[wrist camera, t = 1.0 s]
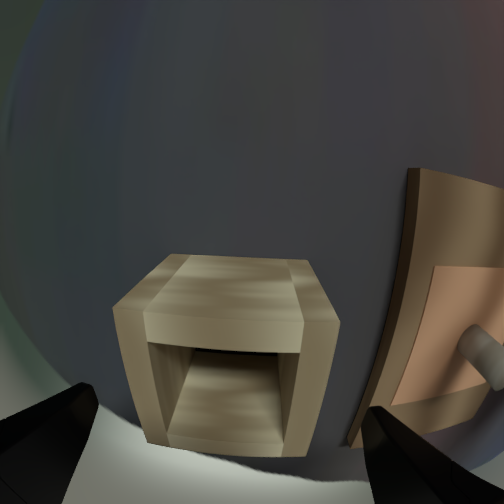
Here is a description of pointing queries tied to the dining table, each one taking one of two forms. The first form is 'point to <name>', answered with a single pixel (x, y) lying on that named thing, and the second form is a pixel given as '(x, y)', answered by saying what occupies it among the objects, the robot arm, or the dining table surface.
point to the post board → (442, 307)
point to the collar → (228, 365)
